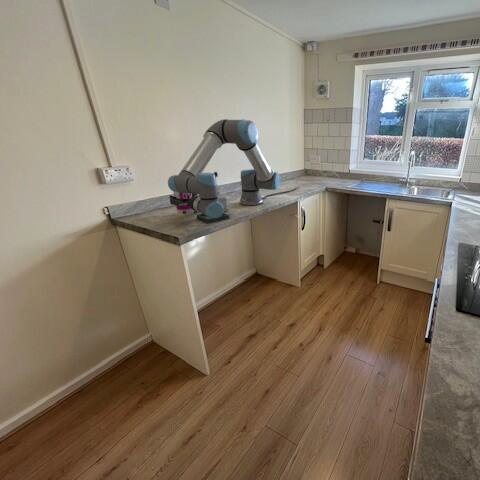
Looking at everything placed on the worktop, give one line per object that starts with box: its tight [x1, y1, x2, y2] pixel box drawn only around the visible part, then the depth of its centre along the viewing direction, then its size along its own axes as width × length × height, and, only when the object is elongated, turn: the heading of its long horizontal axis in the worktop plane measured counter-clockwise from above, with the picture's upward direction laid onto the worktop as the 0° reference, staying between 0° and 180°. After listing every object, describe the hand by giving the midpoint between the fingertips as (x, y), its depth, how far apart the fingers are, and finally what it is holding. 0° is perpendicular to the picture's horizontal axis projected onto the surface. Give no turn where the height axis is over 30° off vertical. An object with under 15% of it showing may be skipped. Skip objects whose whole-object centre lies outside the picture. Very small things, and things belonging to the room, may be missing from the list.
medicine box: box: [218, 195, 228, 212], centre depth 159 cm, size 8×4×9 cm, turn 111°
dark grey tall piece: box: [212, 171, 220, 197], centre depth 182 cm, size 8×11×20 cm
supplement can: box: [172, 191, 195, 216], centre depth 134 cm, size 8×8×15 cm
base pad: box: [196, 212, 230, 224], centre depth 146 cm, size 13×13×2 cm
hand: (179, 196), depth 137 cm, fingers closed on supplement can, 8 cm apart
